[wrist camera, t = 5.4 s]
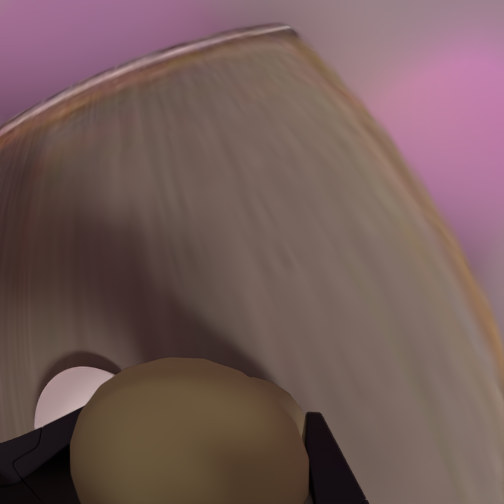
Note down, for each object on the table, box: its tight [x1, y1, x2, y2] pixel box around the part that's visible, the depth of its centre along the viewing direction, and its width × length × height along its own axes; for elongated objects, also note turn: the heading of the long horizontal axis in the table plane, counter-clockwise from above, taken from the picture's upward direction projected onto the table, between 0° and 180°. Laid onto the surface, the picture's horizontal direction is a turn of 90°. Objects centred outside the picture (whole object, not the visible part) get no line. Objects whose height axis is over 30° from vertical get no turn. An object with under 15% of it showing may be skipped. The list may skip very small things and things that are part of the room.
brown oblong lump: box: [70, 357, 309, 504], centre depth 9 cm, size 6×6×11 cm
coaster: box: [35, 367, 115, 429], centre depth 15 cm, size 9×9×1 cm
